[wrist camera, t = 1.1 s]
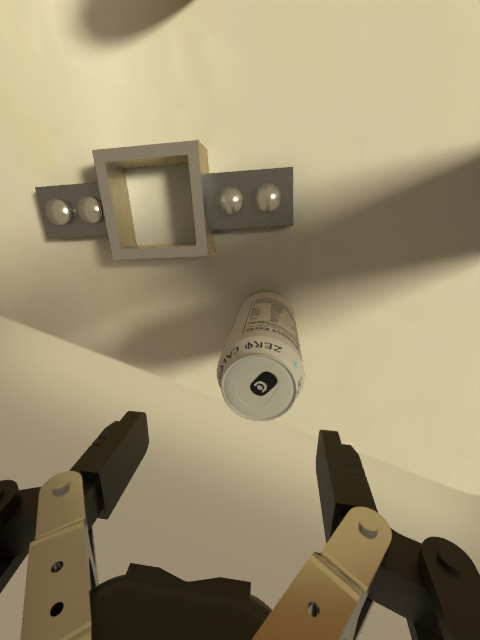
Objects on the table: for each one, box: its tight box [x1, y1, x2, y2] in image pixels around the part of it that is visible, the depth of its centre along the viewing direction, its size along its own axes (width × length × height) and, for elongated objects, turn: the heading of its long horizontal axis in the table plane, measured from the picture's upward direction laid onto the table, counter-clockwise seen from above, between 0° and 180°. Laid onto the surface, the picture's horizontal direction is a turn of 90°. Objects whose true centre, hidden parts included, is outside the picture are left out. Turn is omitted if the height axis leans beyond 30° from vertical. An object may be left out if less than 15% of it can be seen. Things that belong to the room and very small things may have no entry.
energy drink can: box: [217, 292, 305, 421], centre depth 26 cm, size 6×6×15 cm
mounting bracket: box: [35, 140, 293, 260], centre depth 29 cm, size 26×10×4 cm, turn 93°
